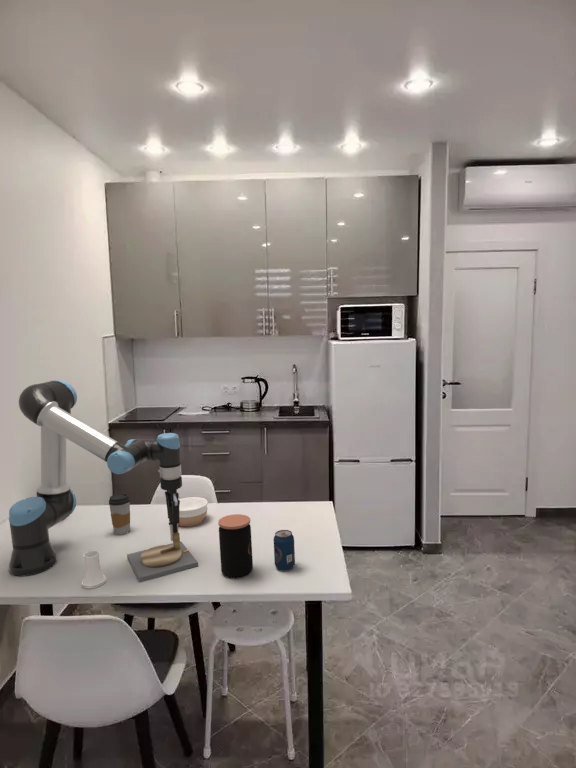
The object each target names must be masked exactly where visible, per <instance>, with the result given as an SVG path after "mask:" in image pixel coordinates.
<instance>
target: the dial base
mask: <svg viewBox="0 0 576 768" xmlns="http://www.w3.org/2000/svg"><path fill="white" fill-rule="evenodd" d="M167 545H173V542H172V543H169V544H168V543H167ZM156 546H157V545H156ZM156 546H154V547H156ZM148 549H149V548H147V549H144V550H140V551H136V552H131V553H128V554H126V558H127V561H128V562H129V565H130V566H131V568H132V570H133V573H134V574H135V576H136V578H137V580H138V583H142V582H145V581H149V580H154V579H156V578H160V577H164V576H167V575H171V574H174V573H178V572H182V571H186V570H189V569H192V568H196V567H199V561H197V559H196V558H195V556H194V555H193V554H192V553H191V552H190V549H188V548H187V546H186V545H185V544H184V543H183V541H181V540H180V549H181V551H182V556H181V558H180V559H179V560H178V561H177V562H175V563H173V564H170V565H167V566H163V567H148V566H145V565H143V564H142V563H141V554H142V553H143V552H144V551H146V550H148Z"/></svg>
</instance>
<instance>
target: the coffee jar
mask: <svg viewBox="0 0 576 768" xmlns="http://www.w3.org/2000/svg"><path fill="white" fill-rule="evenodd" d="M217 521H218V523H217V524H218V526H219V527H218V538H219V557H220V570H221V573H222V575H223V576H225V577H227V578H230V579H235V580H236V579H241V578H245V577H247V576H249V575H250V574H251V573H252V570H253V568H254V564H253V546H252V545H253V544H252V527H251V526H252V525H251V518H250V516H249V515H245V514H241V513H240V514H239V513H237V514H229V515H226V516H222V517H221V518H219V520H217Z"/></svg>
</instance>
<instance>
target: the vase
mask: <svg viewBox="0 0 576 768" xmlns="http://www.w3.org/2000/svg"><path fill="white" fill-rule="evenodd" d="M83 559H84V560H83V561H84V575H83V579H82V580H81V587H82V588H84V589H89V590H90V589H96V588H98V587H101V586H103V585H104V584H105V583H106V582H107V576H106V575H104V573H103V571H102V570H103V569H102V568H101V564H100V551H98V550H90V551H87V552H85V553H83Z"/></svg>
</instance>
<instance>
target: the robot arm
mask: <svg viewBox="0 0 576 768" xmlns="http://www.w3.org/2000/svg"><path fill="white" fill-rule="evenodd" d="M77 401H78V396H77V391H76V389H75V388H74V386H72V385H71V383H69V382H67V381H65V380H62V379H61V380H60V379H59V380H49V381H45V382H41V383H35V384H31V385H28V386H27V387H26V388H24V389H23V390H22V391H21V393H20V395H19V397H18V407H19V409H20V411H21V413H22V414H23V416H24V417H25V418H27V419H28V420H29V421H30V422H32V423H33V424H35V425H37V426H38V427H40V485H39V486H38V487H37V488H36V496H31V497H26V498H25V499H24V498H23V499H21V500H19V501H16V502H15V503H13V504H12V505H11V506H10V508H9V510H8V522H9V527H10V535H11V536H10V537H11V544H12V551H11V555H10V560H9V564H8V568H9V569H8V570H9V573H10V574H11V573H12V575H13V574H14V575H13V576H17V575H26V576H32V575H36V573H37V574H39V573H43V572H45V571H47V570H49V569H50V567H51V568H53V567H54V566H55V565H56V563H57V561H58V560H57V559H58V558H57V553H56V551H55V549H54V548H53V545H52V543H51V541H50V536H49V529H51V528H52V527H54V526H55V525H57V524H58V523H60V522H63V521H64V520H66V519H67V518H68V517H70V516H71V515H72V514H73V513H74V511H75V509H76V507H77V497H76V494H75V493H74V491H73V490H72V489H71V485H70V484H68V483H67V440H68V441H70V442H71V443H74V444H75V445H77V446H79V447H81V448H82V449H84V450H85V451H87V452H89V453H91V454H92V455H94V456H95V457H97V458H100V459H101V460H103V461H104V462H106V465H107V468H108V469H109V471H110V472H111V473H112V474H115V475H122V474H125V473H128V472H130V471H131V470H133V468H135V467H137V466H139V465H141V464H142V463H145V462H146V461H149V462H150V461H151V462H152V461H153V462H157V461H158V466H159V469H157V472H158V473H159V476H160V480H159V483H160V489H161V490H163V491H164V495H165V504H166V510H167V518H168V524H169V531H170V532H169V535H170V541H171V542H173V533H179V534H180V532H179V525H178V523H179V522H180V521H179V505H180V500H178V499H180V496H179V495H180V494H179V492H178V491H177V490H178V489H181V488H182V486H183V477H182V474H183V473H182V464H181V461H182V460H181V445H180V436H179V434H177V433H174V432H167V433H166V432H164V433H161V434H159V435H158V436H157V438H156V439H150V438H149V439H147V438H146V439H145V438H144V439H142V438H136V439H135V438H134V439H132V438H131V439H129V440H127V441H126V443H125V444H122V443H121V442H119V441H117V440H115V439H113V438H112V437H110V436H108V435H107V434H105V433H103V432H102V431H100V430H99V429H97V428H96V427H93V426H92V425H90V424H88V423H86V422H85V421H83V420H82V419H80V418H79V417H77V416H75V415H73V414H72V411H71V410H72V409H73V408H74V407H75V406H76V403H77ZM54 564H55V565H54ZM53 565H54V566H53ZM31 574H32V575H31Z"/></svg>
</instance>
